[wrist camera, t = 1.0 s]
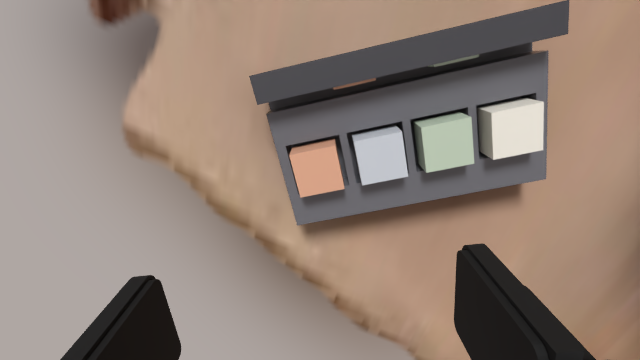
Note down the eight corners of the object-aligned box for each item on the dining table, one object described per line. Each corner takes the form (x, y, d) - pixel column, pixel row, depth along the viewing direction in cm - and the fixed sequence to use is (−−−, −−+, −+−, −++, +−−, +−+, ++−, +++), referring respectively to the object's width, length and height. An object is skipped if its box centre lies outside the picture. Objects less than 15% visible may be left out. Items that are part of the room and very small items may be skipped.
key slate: (395, 125, 26) (402, 131, 24) (401, 166, 28) (408, 176, 25) (351, 134, 27) (353, 141, 24) (359, 175, 28) (362, 185, 26)
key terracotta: (334, 138, 27) (335, 145, 25) (343, 178, 28) (344, 188, 26) (292, 147, 27) (289, 155, 25) (302, 186, 28) (300, 197, 26)
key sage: (459, 111, 26) (471, 117, 24) (462, 154, 27) (474, 163, 25) (413, 121, 26) (421, 127, 24) (418, 163, 27) (426, 172, 25)
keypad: (520, 11, 26) (569, -1, 20) (522, 165, 30) (562, 188, 25) (264, 72, 28) (249, 76, 23) (300, 208, 32) (295, 237, 27)
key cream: (524, 97, 25) (543, 101, 23) (525, 142, 27) (543, 150, 24) (477, 107, 26) (491, 112, 23) (479, 151, 27) (493, 159, 25)
